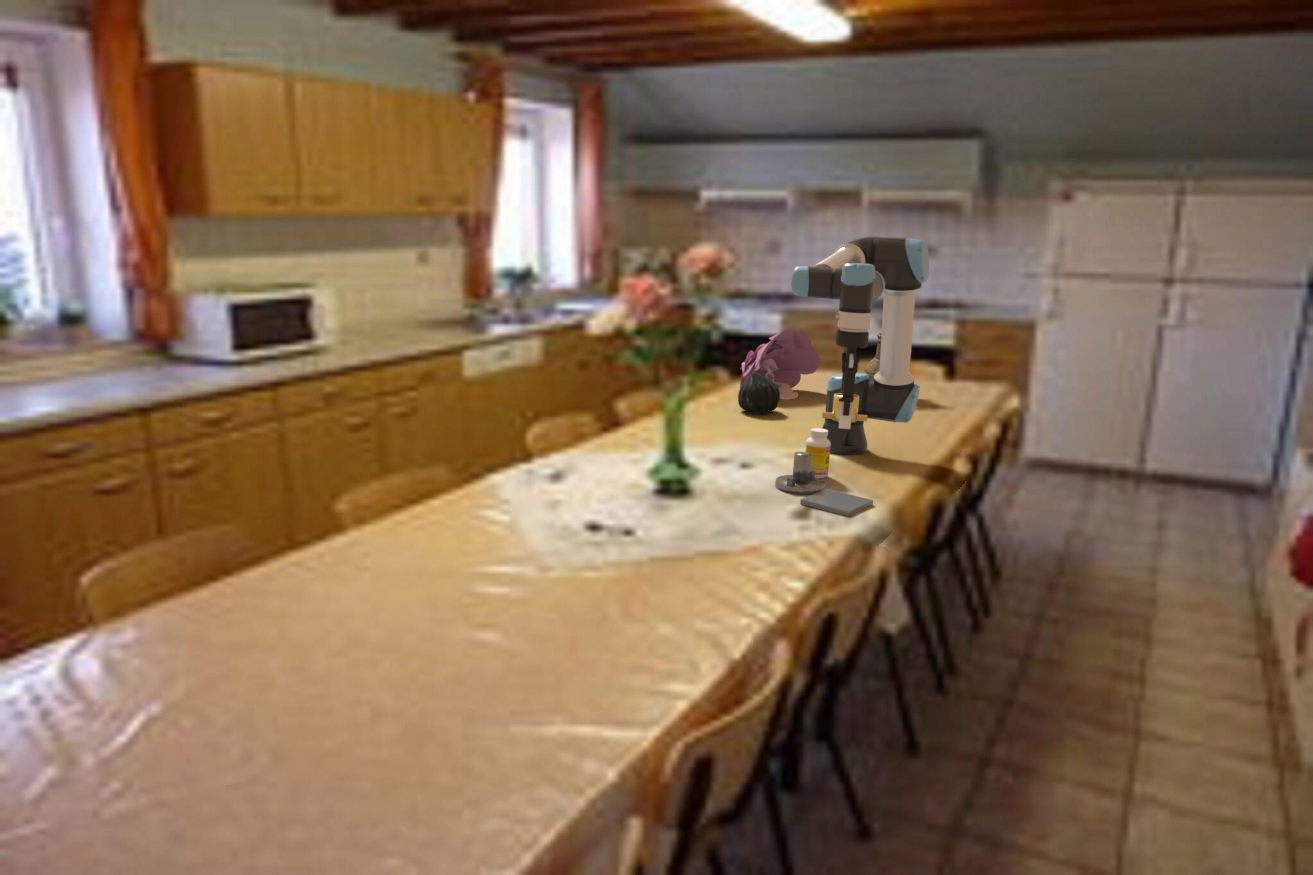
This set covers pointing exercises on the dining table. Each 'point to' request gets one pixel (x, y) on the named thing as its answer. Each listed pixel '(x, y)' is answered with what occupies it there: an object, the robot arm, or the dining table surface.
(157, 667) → the dining table surface
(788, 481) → the post
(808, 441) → the supplement bottle
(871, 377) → the decorative pitcher
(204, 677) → the dining table surface
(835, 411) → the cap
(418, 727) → the dining table surface
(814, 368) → the flower arrangement
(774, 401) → the squash
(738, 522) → the dining table surface
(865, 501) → the tile
